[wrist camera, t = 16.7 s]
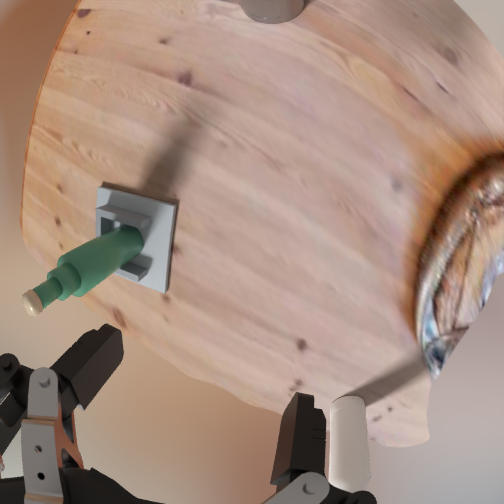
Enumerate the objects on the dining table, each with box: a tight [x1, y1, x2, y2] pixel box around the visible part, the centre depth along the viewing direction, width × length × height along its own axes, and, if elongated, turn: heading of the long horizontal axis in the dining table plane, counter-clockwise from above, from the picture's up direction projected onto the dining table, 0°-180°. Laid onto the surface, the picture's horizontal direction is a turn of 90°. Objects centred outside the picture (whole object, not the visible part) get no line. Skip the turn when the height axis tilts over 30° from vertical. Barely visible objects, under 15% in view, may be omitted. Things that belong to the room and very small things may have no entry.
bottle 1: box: [22, 224, 144, 317], centre depth 33 cm, size 6×6×23 cm
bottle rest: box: [96, 186, 177, 294], centre depth 42 cm, size 16×16×4 cm
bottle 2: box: [329, 396, 371, 493], centre depth 36 cm, size 8×8×30 cm
